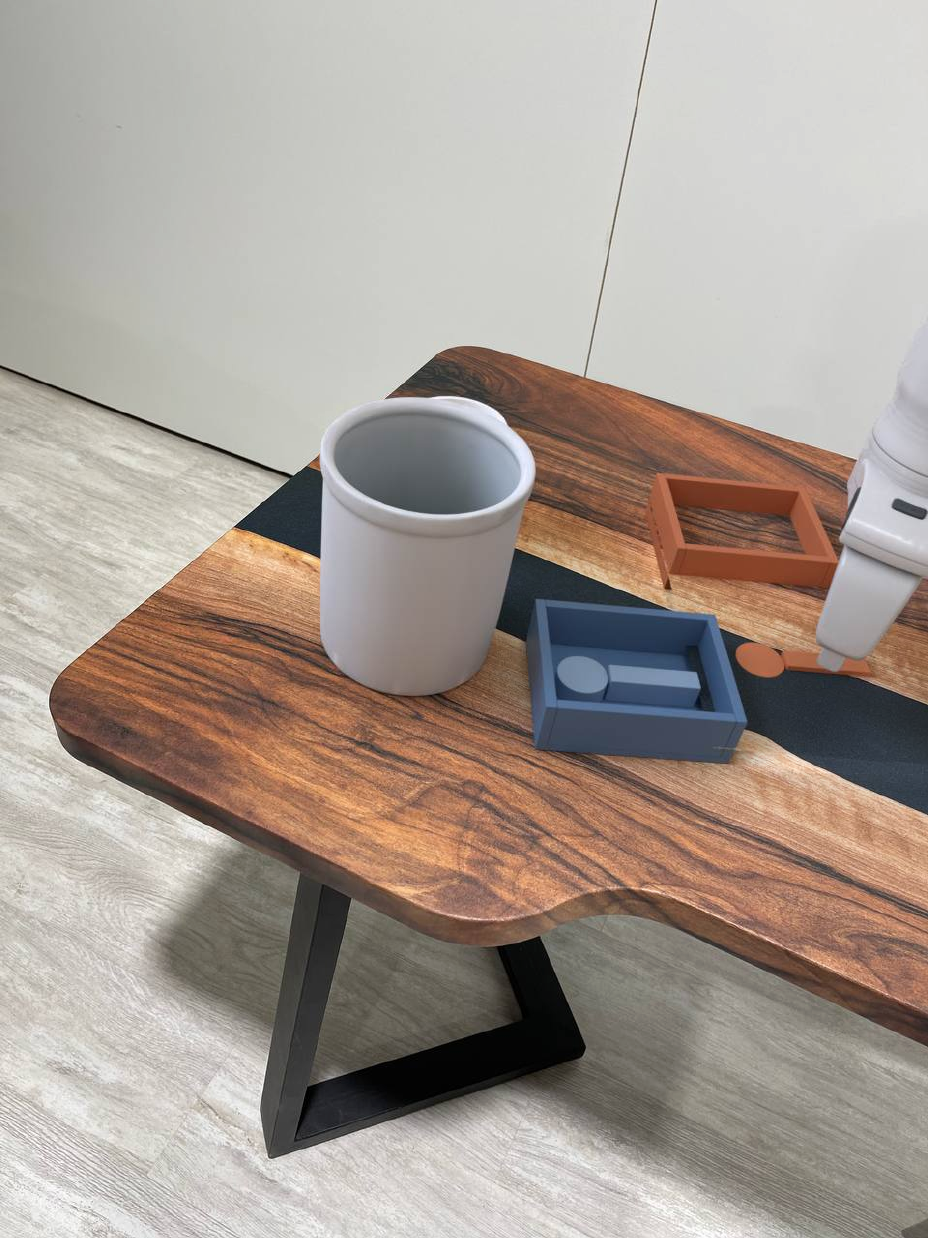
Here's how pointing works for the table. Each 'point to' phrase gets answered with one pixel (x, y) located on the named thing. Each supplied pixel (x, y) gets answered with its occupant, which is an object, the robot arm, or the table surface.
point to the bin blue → (634, 644)
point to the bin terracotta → (735, 561)
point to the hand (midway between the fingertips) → (843, 629)
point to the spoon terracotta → (790, 662)
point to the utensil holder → (417, 540)
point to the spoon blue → (624, 683)
